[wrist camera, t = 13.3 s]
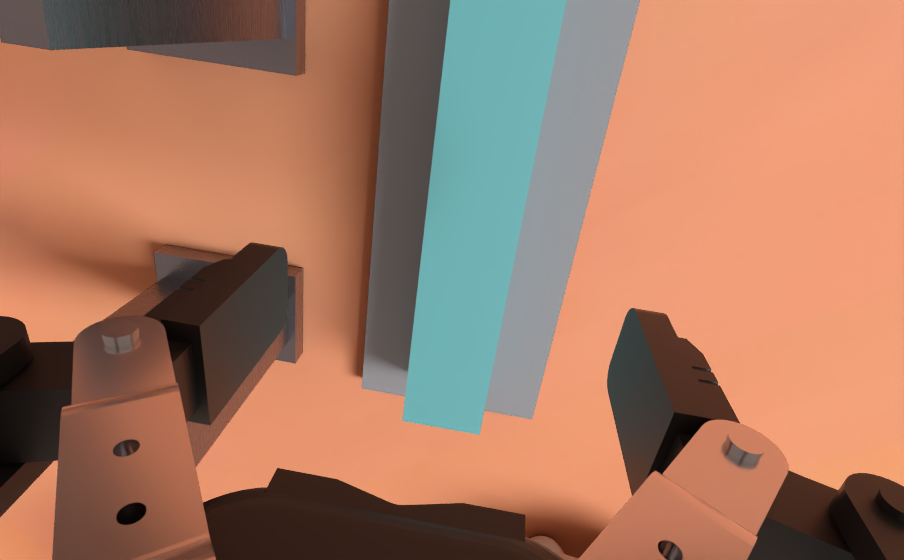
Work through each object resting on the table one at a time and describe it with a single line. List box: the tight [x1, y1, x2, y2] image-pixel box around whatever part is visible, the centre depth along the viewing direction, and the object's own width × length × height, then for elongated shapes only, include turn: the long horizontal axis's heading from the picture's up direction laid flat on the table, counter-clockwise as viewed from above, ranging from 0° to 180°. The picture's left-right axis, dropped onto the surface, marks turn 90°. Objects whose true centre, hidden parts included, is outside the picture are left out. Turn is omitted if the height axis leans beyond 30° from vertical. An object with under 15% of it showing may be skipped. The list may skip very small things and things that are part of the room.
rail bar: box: [403, 0, 566, 435], centre depth 21 cm, size 20×4×4 cm, turn 173°
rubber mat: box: [362, 0, 640, 419], centre depth 23 cm, size 23×9×1 cm, turn 172°
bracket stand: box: [0, 0, 305, 468], centre depth 18 cm, size 19×7×12 cm, turn 172°
